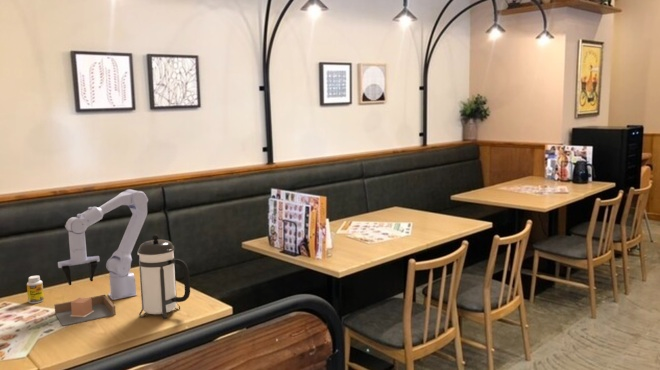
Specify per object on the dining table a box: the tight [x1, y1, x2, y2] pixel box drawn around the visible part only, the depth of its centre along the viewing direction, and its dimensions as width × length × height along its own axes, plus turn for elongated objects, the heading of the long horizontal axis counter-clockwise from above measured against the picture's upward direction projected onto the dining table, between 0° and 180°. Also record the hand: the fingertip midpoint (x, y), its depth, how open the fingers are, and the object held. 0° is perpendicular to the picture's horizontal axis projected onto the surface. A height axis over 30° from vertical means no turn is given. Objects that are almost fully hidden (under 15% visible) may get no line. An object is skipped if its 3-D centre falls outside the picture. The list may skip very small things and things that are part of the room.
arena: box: [54, 294, 117, 327], centre depth 202 cm, size 18×16×3 cm
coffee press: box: [137, 233, 191, 320], centre depth 201 cm, size 17×16×30 cm
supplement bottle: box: [26, 275, 45, 304], centre depth 216 cm, size 6×6×10 cm
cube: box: [71, 297, 92, 316], centre depth 202 cm, size 5×5×5 cm
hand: (80, 282), depth 210 cm, fingers open, 7 cm apart
